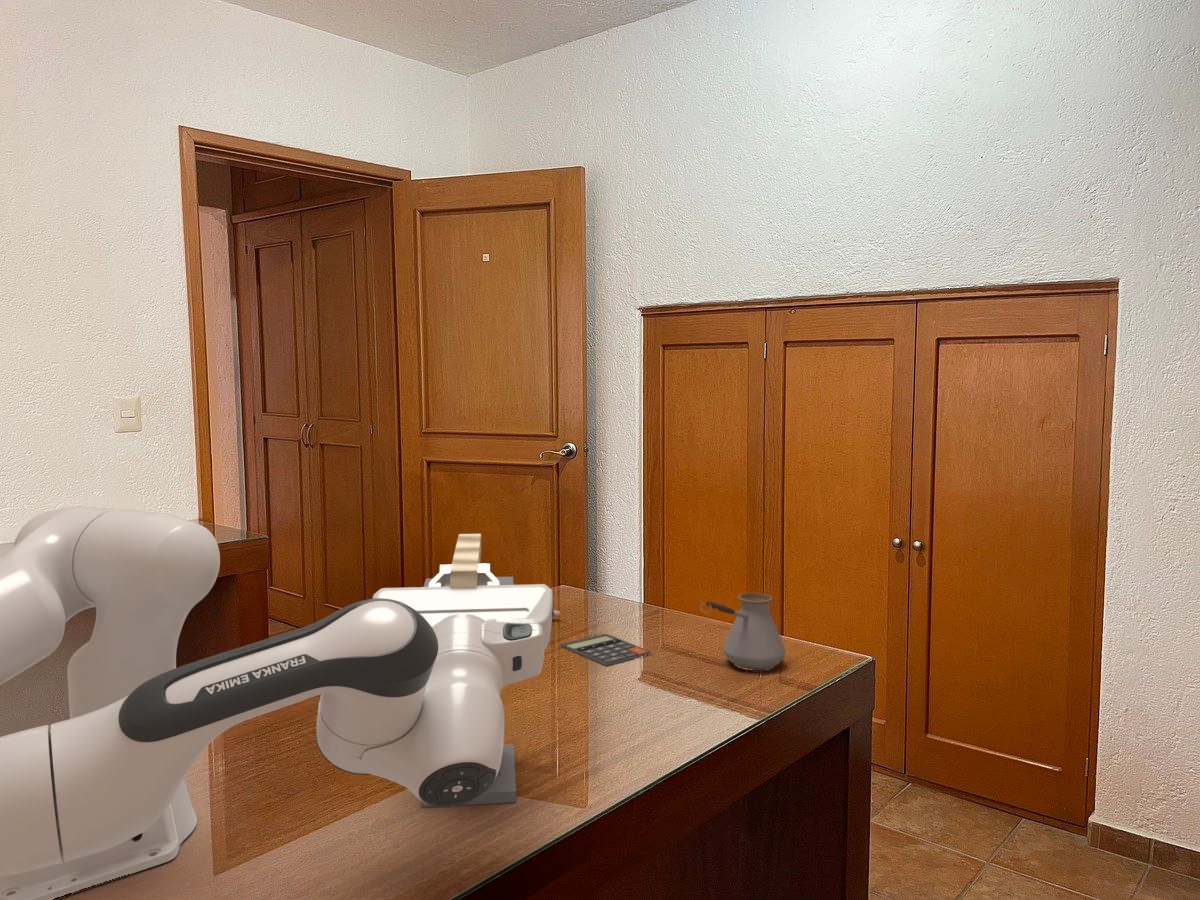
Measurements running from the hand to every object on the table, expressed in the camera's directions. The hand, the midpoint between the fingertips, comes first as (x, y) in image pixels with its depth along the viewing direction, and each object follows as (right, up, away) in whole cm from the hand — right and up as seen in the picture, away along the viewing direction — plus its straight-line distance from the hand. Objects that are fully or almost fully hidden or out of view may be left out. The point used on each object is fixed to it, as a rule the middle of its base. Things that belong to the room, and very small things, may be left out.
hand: (465, 567), depth 106 cm
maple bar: (-1, -1, +6) cm, 6 cm away
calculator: (+17, -26, +68) cm, 75 cm away
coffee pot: (+41, -27, +56) cm, 75 cm away
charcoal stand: (-2, -30, +14) cm, 33 cm away
